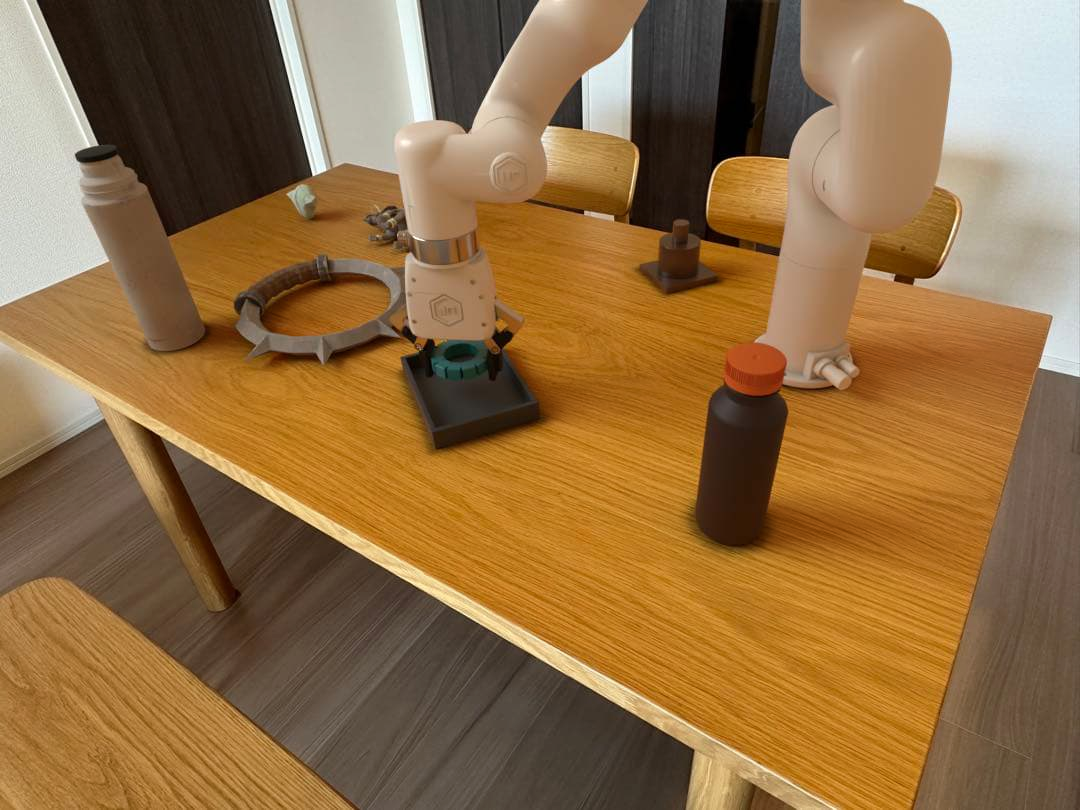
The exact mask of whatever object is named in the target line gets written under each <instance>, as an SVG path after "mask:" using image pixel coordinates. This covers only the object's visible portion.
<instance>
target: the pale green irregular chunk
mask: <svg viewBox="0 0 1080 810" xmlns="http://www.w3.org/2000/svg"><path fill="white" fill-rule="evenodd" d="M286 195H287V197H288V198H289V199H290V201H292V203H293V205H294V206H295V208H296V209H297V211H298V213H299V215H301V216H302V217H303V218H305V219H307V220H310V219H313V218H314V217H315V214H316V211H317V205H318V199H317V195H316V192H315V190H314V189H313V188H312V187H311V186H309V185H308V184H306V183H305V184H299V185H297V186H296V187H295V189H293V190H290V191H288V192H287V193H286Z"/></svg>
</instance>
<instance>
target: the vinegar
mask: <svg viewBox="0 0 1080 810" xmlns="http://www.w3.org/2000/svg"><path fill="white" fill-rule="evenodd" d="M786 365H787V360H786V357H785V356H784V354H783V353H782V352H781V351H780V350H778V349H776V348H775V347H772V346H770V345H767V344H762V343H754V341H753V342H749V341H747V342H742V343H739V344H735V345H733V346H732V347H730V348H729V349H728V350H727V352H726V354H725V361H724V367H723V373H722V375H723V376H722V377H723V379H722V380H723V384H722V385H721V386H719V387H718V388H717V389H716V390H715V391H714V392H712V394H711V395H710V398H709V400H708V405H707V413H706V420H705V428H704V436H703V445H702V452H701V461H700V470H699V477H698V485H697V494H696V501H695V510H694V517H695V523H696V524H697V527H698V529H699V530H700V531H701V532H702V534H704V536H706V537H707V538H709V539H711V540H713V541H715V542H716V543H718V544H719V543H720V544H723V545H726V546H741V545H746V544H749V543H751V542H753V541H755V540H757V538H758V537H759V536H760V535H761V534H762V533H763V530H764V526H765V523H766V518H767V513H768V510H769V509H768V508H769V504H770V499H771V494H772V491H773V485H774V481H775V476H776V472H777V467H778V463H779V458H780V453H781V448H782V444H783V439H784V434H785V429H786V424H787V421H788V416H789V408H788V404H787V401H786V400H785V399H784V397H783V396H782V394H781V393H780V392H781V389H782V387H783V384H782V383H783V379H784V374H785V370H786Z"/></svg>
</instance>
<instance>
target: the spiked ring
mask: <svg viewBox="0 0 1080 810" xmlns="http://www.w3.org/2000/svg"><path fill="white" fill-rule="evenodd" d="M349 276H350V277H351V276H353V277H361V278H362V277H363V278H370V279H373V280H377V281H380V282H382V283H384V284H385V286H387V288H388V289H389V292H390V303H389V306H388V307H387V308H386V310H385V311H383V312H382V313H381V314H379V315H378V316H376V317H375V318H373V319H370V320H369V321H366V322H364V323H362V324H360V325H358V326H355V327H352V328H349V329H344V330H342V331H338V332H333V333H327V334H320V335H303V336H302V335H301V336H300V335H299V336H293V335H292V336H291V335H287V334H286V335H285V334H281V333H280V334H279V333H274V332H271V331H270V330H268V329H267V328H266V327H265V326H264V325H263V323H262V321H261V319H260V318H261V317H262V316H263V315H264V314H265V312H266V308H267V307H266V306H267V304H268V303H269V302H270V301H271V300H272V298H276V297H277V296H279V295H280V294H281V293H283V292H284V291H290V290H291V289H292V288H294V287H296V286H298V285H300V286H302V285H304V284H307V283H309V282H311V281H319V280H320V281H321V283H326V282H327V283H329V282H331V281H332V280H333V279H332V277H349ZM405 302H406V289H405V266H394V267H388V266H387V265H383V264H381V263H378V262H375V261H371V260H367V259H360V258H359V259H358V258H352V257H351V258H329V257H328V255H327V253H321V254H317V255H316V258H315V259H309V260H306V261H302V262H300V261H299V262H295V263H292V264H290V265H289V266H285V267H281V268H278V269H276V270H275V271H274V272H272V273H270V274H267V275H265V276H262V277H261V278H260V280H258V281H256V282H254V283H253V284H251V285H250V286H249V287H248V288H247V289H246V290H243V291H241V292H240V291H239V292H238V293H237V295H236V297H235V298H234V300H233V310H234V311H235V313H236V314H237V315H238V316H239V319H238V320H237V322H236V324H235V325H234V327H235V329H236V330H237V331H238V333H240V335H241V336H242V337H244V338H245V339H246V340H247V341H249V342H251V343H252V344H254V345H256V346H254V348H253V349H252V351H251V352H250V353H249V354H248V355H247V356H246V358H245V359H244V360H243V361H244V362H246V361H249V360H251V359H254V358H257V357H260V356H264V355H267V354H269V353H273V352H277V353H282V354H288V355H292V356H293V355H294V356H315V355H317V357H318V359H319V361H320V362H321V364H322V366H323V367H325V365H326V363H327V361H328V360H329V357H330V356H331V355H332V354H335V353H340V352H344V351H348V350H351V349H355V348H358V347H360V346H363V345H366V344H368V343H369V342H372V341H373V340H376V339H378V338H380V337H385V338H400V339H402V337H401V336H400V334H398V333H397V332H396V331H395V330H394V329H393V328H394V327H395V326H394V325H393V324H392V323H391V322H390V321H389V317H390V315H391V314H392V312H393V311H394V310H396V309H397V308H398V307H400V306H401V305H402V304H404V303H405Z"/></svg>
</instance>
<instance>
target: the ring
mask: <svg viewBox="0 0 1080 810" xmlns="http://www.w3.org/2000/svg"><path fill="white" fill-rule="evenodd" d="M488 350H489V349H488V347H487V346H486V345H485V343H484V342H483V341H462V340H442V342H440V343H439V344H437V345H435V348H434V349H433V351H432V353H431V355H430V356H431V357H430V359H431V365H432V369H433V371H434V373H435V374H436V373H437V376H440V377H442V378H444V379H447V378H448V379H449V380H455V381H461V380H462V378H463V379H464V380H468V379H472V378H476V377H477V375H479V376H480V375H482V374H483V373H485V372H486V371H487V370H488V365H487V352H488ZM458 354H471V355H474V356H476V357H475V358H473V359H472V360H470V361H466V362H462V363H455V362H450V361H448V360H447V359H449V358H450V357H452V356H454V355H458Z"/></svg>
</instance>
